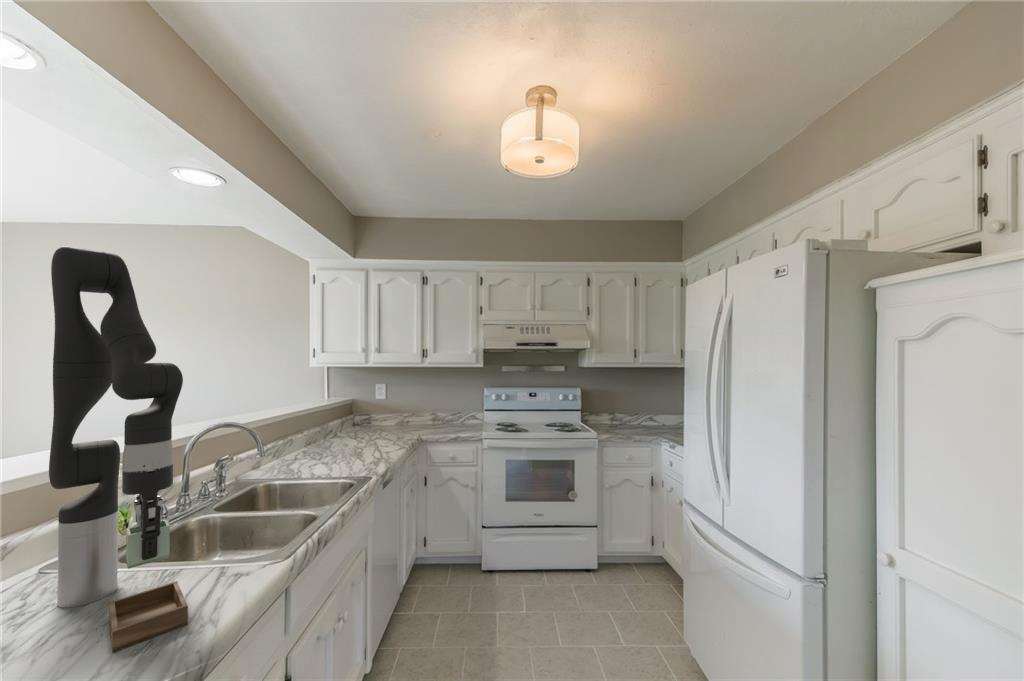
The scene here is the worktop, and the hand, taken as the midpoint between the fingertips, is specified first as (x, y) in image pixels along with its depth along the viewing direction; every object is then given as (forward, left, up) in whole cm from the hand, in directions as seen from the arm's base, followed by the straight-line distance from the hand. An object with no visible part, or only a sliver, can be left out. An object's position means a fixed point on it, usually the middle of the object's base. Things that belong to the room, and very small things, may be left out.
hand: (148, 553), depth 82 cm
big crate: (0, 0, -13) cm, 13 cm away
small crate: (0, 0, -1) cm, 1 cm away
